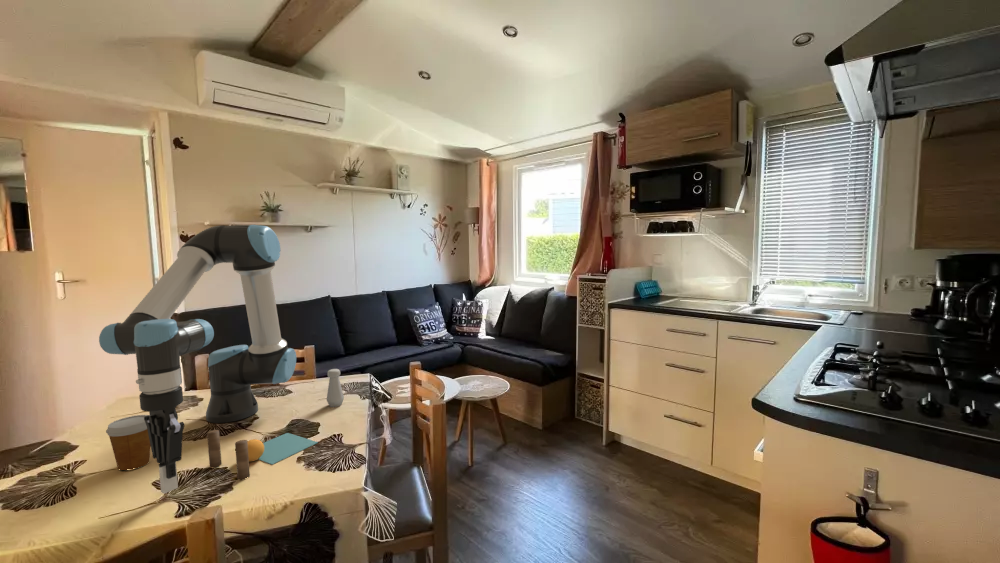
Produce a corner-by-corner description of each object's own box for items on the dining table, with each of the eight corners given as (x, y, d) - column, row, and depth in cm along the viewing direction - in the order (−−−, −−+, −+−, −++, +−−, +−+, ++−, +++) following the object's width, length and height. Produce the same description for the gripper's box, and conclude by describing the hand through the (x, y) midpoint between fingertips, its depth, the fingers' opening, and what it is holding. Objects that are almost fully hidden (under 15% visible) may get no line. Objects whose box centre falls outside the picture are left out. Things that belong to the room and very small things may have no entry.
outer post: (235, 478, 105) (232, 443, 104) (245, 473, 107) (243, 438, 107) (241, 481, 104) (238, 445, 103) (252, 475, 106) (249, 441, 105)
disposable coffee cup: (129, 457, 117) (125, 415, 116) (165, 455, 118) (162, 413, 117) (99, 475, 107) (94, 429, 106) (139, 473, 108) (135, 427, 107)
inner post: (207, 466, 111) (205, 433, 110) (218, 461, 113) (215, 429, 113) (213, 468, 110) (210, 435, 109) (223, 464, 112) (221, 431, 111)
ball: (233, 446, 112) (252, 433, 116) (240, 463, 114) (259, 449, 118) (245, 451, 109) (264, 437, 114) (252, 468, 111) (271, 454, 116)
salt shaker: (346, 402, 156) (345, 367, 155) (339, 408, 150) (337, 372, 149) (331, 402, 156) (329, 367, 155) (323, 407, 151) (321, 372, 150)
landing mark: (241, 453, 118) (241, 452, 118) (287, 433, 130) (287, 432, 130) (272, 464, 111) (272, 464, 111) (318, 442, 123) (318, 442, 123)
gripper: (126, 389, 95) (136, 490, 97) (155, 399, 89) (164, 506, 91) (166, 380, 102) (174, 475, 103) (195, 388, 95) (202, 488, 97)
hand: (169, 489), depth 97 cm, fingers closed
